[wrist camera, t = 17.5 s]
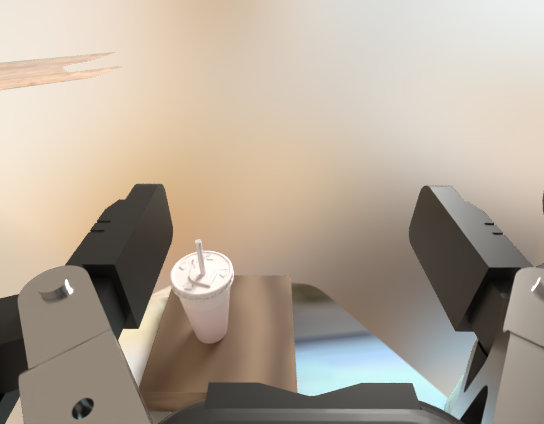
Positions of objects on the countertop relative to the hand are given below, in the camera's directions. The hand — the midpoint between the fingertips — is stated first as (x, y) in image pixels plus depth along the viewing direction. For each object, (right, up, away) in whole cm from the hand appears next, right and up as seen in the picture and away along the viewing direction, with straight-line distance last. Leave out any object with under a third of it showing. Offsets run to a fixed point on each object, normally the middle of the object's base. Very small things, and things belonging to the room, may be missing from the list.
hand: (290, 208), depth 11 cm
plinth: (-6, -17, +32) cm, 36 cm away
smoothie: (-8, -14, +29) cm, 33 cm away
